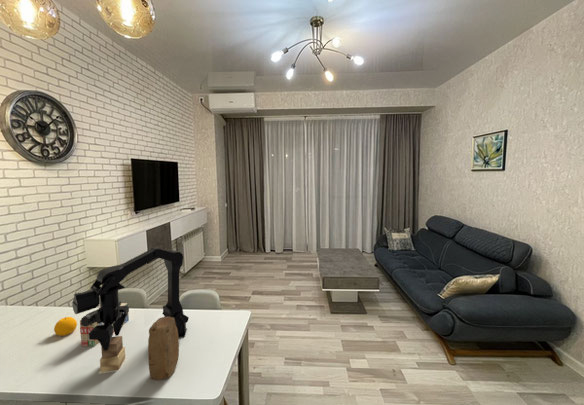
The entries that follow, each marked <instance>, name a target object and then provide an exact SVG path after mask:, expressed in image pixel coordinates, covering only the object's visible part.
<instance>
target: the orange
mask: <svg viewBox="0 0 584 405" xmlns="http://www.w3.org/2000/svg"><path fill="white" fill-rule="evenodd" d="M77 326H78V322H77V320H76V319H75V317H72V316H66V317H63V318H60V319H59V320H58V321H57V322H56V323H55V325H54V327H53V328H54V329H53V330H54V333H55V334H56V336H59V337H60V336H61V337H64V336H68V335H70V334H72V333H73V332H74V331H75V330H76V329H77Z"/></svg>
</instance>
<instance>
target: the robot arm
mask: <svg viewBox="0 0 584 405" xmlns="http://www.w3.org/2000/svg"><path fill="white" fill-rule="evenodd" d="M156 259H161V260H164V261H163V262H164V266H165V268H166V270H167V302H166V304H164V305H162V315H163V317H173V318H174V319H175V325H176V327H177V330H178V338H184V337H186V334H187V331H188V328H187V323H188V322H189V316H187V315H185V314H184V309H183V306H182V304H181V301H180V269H181V268H182V266H183V263H184V262H183V261H184V254H183V253H182V252H181V251H177V250H173V249H168V250H165V249H163V248H160V247H157V246H154V247H151V248H150V249H148V250H147V251H144V252H142V253H141V254H138V255H137V256H135V257H133V258H131V259H129V260H127V261H125V262H123V263H120V264H117V265H112V266H109V267H106V268H104V269H101V270H100V271H99V272H98V274H97V276H96V279H95V280H94V282H93V283H92V285H91V286H90V288H89V290H86V291H83V292H82V291H81V292H76V293H74V295H73V298H72V302H71V303H72V305H71V306H72V310H73V313H74V314H75V315H78V314H82V313H84V312H88V311H90V310H93V311H91V312H88V313H87V314H86V315H84V316H83V317H81V319H80V320H81V325H82V326H85V327H87V326H89V325H90V324H93V323H95V322H97V324H98V323H102V322H103V323H105V324H104V325H98V326H96V327H95V328H94V329H93V330H92V331H91V332H90V333H89V340H95V339H96V340H98V341H99V342H100V343H99V344H100V346H102V348H103V350H104V351H106V350H108V348H109V345H110V342H111V339H112V337H116V336H120V334H121V333H120V332H121V331H122V328H123V327H124V325H123V323H124V321H125V319H126V317H127V315H129V312H130V311H129V310H130V308H129V306H120V305H121V303H122V302H121V301H120V300H119V298H120V297H119V296H120V295H119V290H122V289H125V288H126V287H125V286H124V285H123V284H121V283H122V282H123V280H124V279H125V278H127V276H128V275H129V274H131V273H133V272H134V271H137V270H138V269H140V268H142V267H144V266H145V265H147V264H149V263H151V262H153V261H154V260H156ZM99 306H100V307H99ZM97 307H98V308H99V309H98V308H97ZM94 309H96V310H94ZM97 309H98V310H97ZM127 313H128V314H127ZM112 325H113V326H112ZM113 328H114V332H113ZM114 335H115V336H114Z"/></svg>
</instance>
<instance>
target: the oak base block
mask: <svg viewBox="0 0 584 405" xmlns="http://www.w3.org/2000/svg"><path fill="white" fill-rule="evenodd" d="M125 358H126V347H125V346H123V348H122V350H121V351H120V353H119V354H118V356H116V357H108V358H102V356H101V358H100V359H99V364H100V365H99V366H100V370H101V372H106V371H113V370H119V369H120V367H121V365H122V364H123V362H124V360H125Z"/></svg>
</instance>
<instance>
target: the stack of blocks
mask: <svg viewBox="0 0 584 405" xmlns="http://www.w3.org/2000/svg"><path fill="white" fill-rule="evenodd" d="M120 306H128V303H127V302H124V303H123V302H121V305H120ZM128 307H129V306H128ZM99 308H100V307H98V308H96V310H98V309H99ZM127 314H128V315H127V317H126V319H125V321H124V323H123V326H124V325H126V323H128V322H129V312H128V313H127ZM104 324H105V323H103V322H102V323H98V324H97V322H95V323H93V324H90V325H89V326H87V327H85V326H82V325H81V319H79V329H80V344H81V346H83V347H85V346H86V347H96V346H97V345H99V344H100V342H99V341H98V340H96V339H95V340H89V333H90V332H91V331H92V330H93V329H94V328H95V327H96V326H98V325H104ZM112 326H113V325H112ZM113 332H114V328H113Z"/></svg>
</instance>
